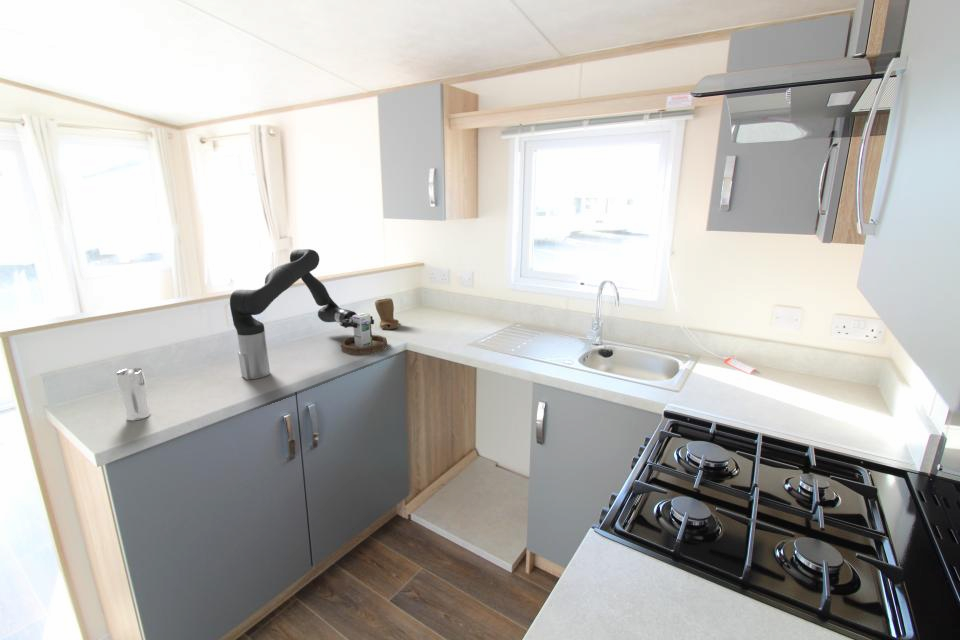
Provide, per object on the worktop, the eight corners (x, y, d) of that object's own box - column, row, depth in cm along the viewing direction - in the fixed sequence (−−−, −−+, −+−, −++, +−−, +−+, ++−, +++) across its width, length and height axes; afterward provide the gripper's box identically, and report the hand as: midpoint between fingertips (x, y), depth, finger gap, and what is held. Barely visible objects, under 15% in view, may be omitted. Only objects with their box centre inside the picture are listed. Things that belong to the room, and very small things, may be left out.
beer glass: (119, 419, 140) (109, 373, 136) (142, 410, 146) (133, 366, 142) (134, 423, 137) (124, 377, 133) (157, 413, 143) (148, 369, 140)
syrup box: (362, 348, 202) (360, 316, 199) (354, 345, 206) (352, 314, 202) (372, 345, 207) (370, 314, 203) (364, 342, 210) (362, 312, 207)
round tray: (357, 358, 193) (356, 351, 192) (333, 347, 206) (332, 341, 206) (395, 347, 207) (395, 341, 206) (371, 338, 220) (370, 332, 220)
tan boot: (377, 323, 247) (375, 296, 244) (399, 322, 249) (398, 295, 245) (375, 331, 233) (373, 302, 229) (398, 330, 235) (397, 301, 231)
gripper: (331, 312, 207) (350, 318, 197) (358, 307, 217) (378, 313, 207) (332, 328, 209) (351, 335, 199) (359, 322, 219) (379, 328, 208)
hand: (365, 323), depth 203 cm, fingers open, 8 cm apart
